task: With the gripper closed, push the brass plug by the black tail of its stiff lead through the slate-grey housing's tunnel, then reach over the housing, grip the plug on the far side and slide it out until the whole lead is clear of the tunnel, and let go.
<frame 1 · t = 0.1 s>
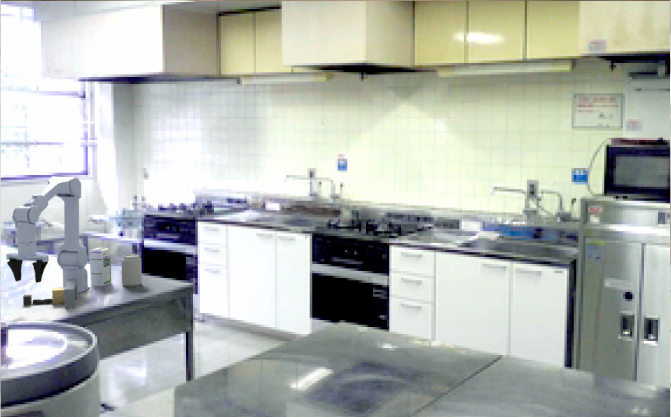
hand: (28, 281, 225), 10 cm above the table, tool pointing down, fingers open, 7 cm apart
can: (131, 285, 265), on the table
plug: (59, 302, 236), on the table
housing: (71, 301, 238), on the table
syrup box: (101, 285, 265), on the table
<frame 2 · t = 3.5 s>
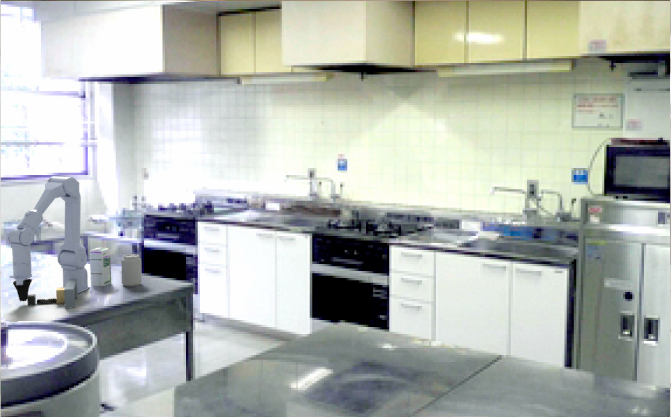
hand: (23, 300, 233), 1 cm above the table, tool pointing down, fingers closed, pressing on plug
plug: (63, 302, 237), on the table, touching gripper
everything else where it was.
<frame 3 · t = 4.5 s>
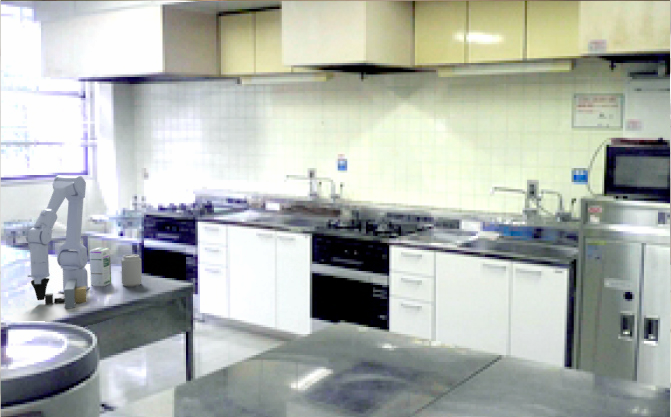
hand: (40, 299, 234), 1 cm above the table, tool pointing down, fingers closed, pressing on plug
plug: (80, 301, 239), on the table, touching gripper
everything else where it was.
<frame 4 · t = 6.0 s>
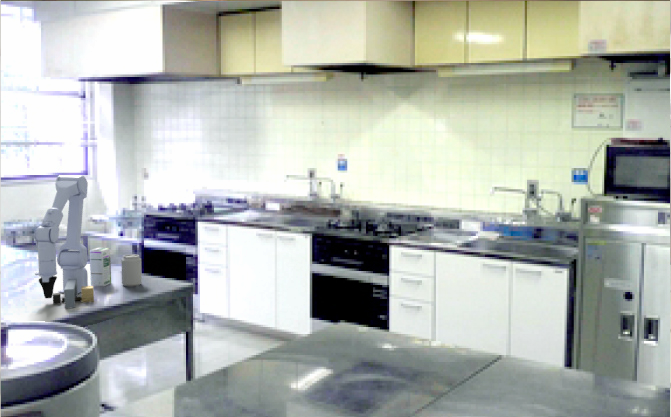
hand: (48, 297, 235), 2 cm above the table, tool pointing down, fingers closed
plug: (87, 300, 240), on the table
everything else where it was.
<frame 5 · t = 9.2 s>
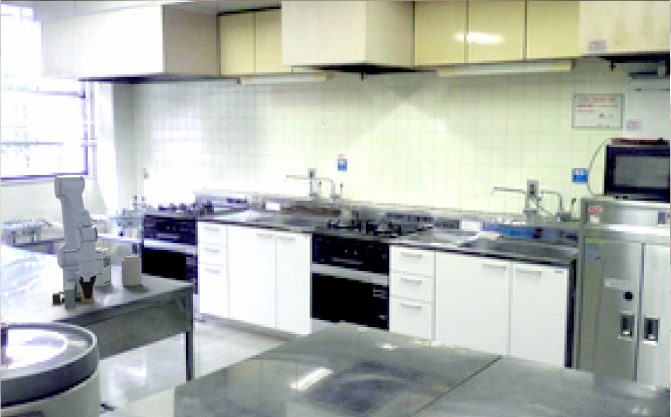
hand: (88, 297, 239), 1 cm above the table, tool pointing down, fingers closed on plug, 4 cm apart
plug: (87, 301, 239), on the table, touching gripper
everything else where it was.
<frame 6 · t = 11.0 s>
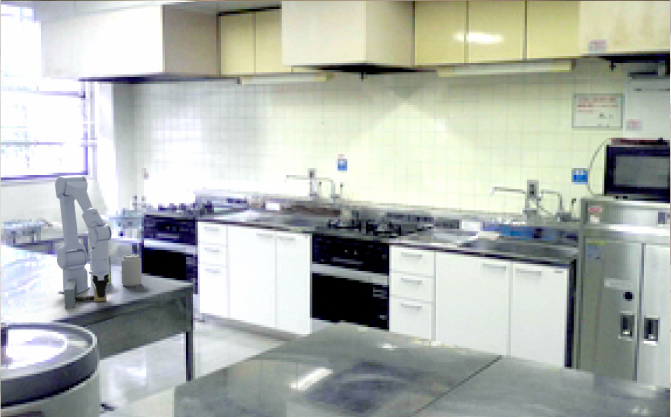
hand: (101, 295, 240), 2 cm above the table, tool pointing down, fingers closed on plug, 4 cm apart
plug: (100, 299, 240), on the table, touching gripper
everything else where it was.
when the fingers open (2 cm above the table, at t = 12.5 s): plug stays where it is, on the table.
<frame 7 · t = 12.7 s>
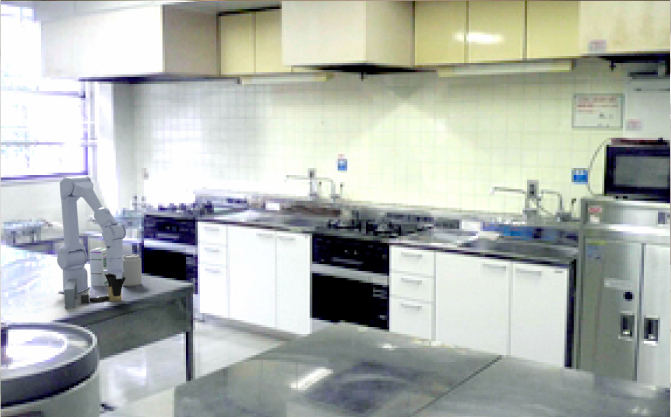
hand: (115, 294, 242), 2 cm above the table, tool pointing down, fingers open, 5 cm apart
plug: (114, 299, 242), on the table
everything else where it was.
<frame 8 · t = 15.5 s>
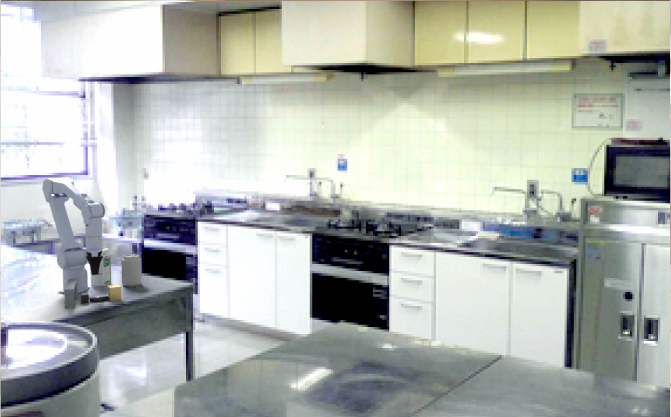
hand: (94, 272, 243), 9 cm above the table, tool pointing down, fingers open, 7 cm apart
nothing on the table moved.
at the end: plug 1.3 cm from the target spot, on the table; the gripper is holding nothing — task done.
